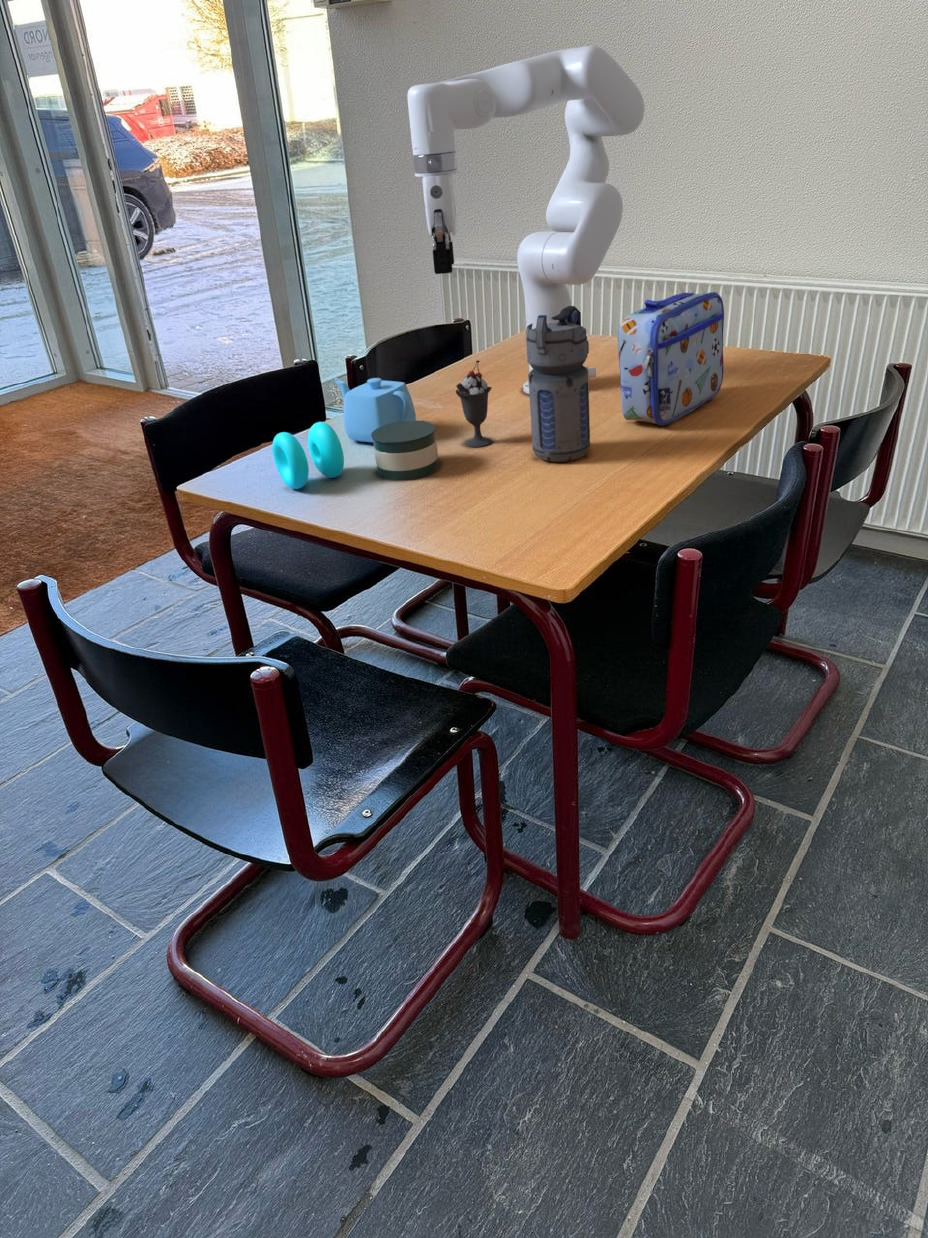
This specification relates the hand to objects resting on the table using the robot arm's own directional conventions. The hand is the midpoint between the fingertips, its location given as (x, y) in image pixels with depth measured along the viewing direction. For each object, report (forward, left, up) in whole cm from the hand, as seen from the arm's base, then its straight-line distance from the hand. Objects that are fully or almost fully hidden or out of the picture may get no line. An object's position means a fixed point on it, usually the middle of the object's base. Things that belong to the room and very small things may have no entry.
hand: (444, 268), depth 167 cm
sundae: (-3, +12, -30) cm, 32 cm away
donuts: (+27, +24, -30) cm, 47 cm away
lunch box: (-41, +5, -30) cm, 51 cm away
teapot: (+17, +2, -30) cm, 34 cm away
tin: (+10, +22, -30) cm, 38 cm away
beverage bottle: (-18, +22, -30) cm, 41 cm away
